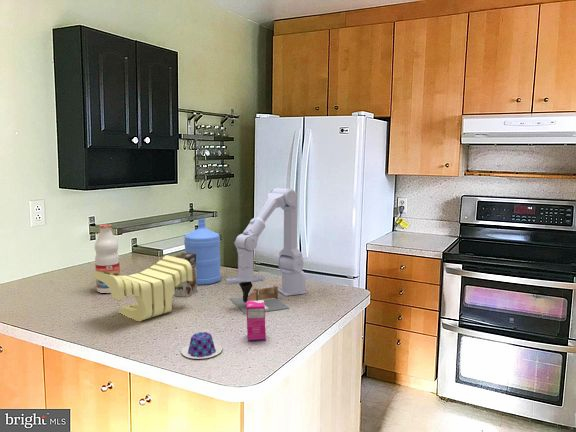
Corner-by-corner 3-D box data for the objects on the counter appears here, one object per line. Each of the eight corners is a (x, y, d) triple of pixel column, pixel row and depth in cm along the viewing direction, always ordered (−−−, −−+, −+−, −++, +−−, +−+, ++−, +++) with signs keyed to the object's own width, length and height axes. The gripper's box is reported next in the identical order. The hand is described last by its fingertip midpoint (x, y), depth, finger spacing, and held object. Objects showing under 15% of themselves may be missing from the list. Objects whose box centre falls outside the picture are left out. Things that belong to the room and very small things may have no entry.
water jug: (227, 279, 218) (226, 218, 214) (204, 287, 205) (202, 223, 201) (202, 274, 226) (200, 215, 222) (178, 282, 213) (176, 220, 209)
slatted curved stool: (121, 330, 157) (118, 278, 154) (96, 319, 167) (93, 270, 164) (193, 307, 180) (192, 261, 177) (167, 298, 190) (166, 255, 187)
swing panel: (253, 300, 185) (253, 290, 185) (256, 300, 185) (256, 290, 185) (247, 307, 177) (247, 297, 176) (250, 307, 177) (250, 297, 176)
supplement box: (246, 334, 154) (246, 300, 152) (265, 334, 154) (265, 299, 152) (246, 341, 148) (246, 306, 146) (265, 341, 148) (265, 305, 147)
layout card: (270, 294, 195) (270, 293, 195) (289, 308, 178) (289, 307, 178) (230, 299, 189) (230, 298, 189) (245, 314, 171) (245, 313, 171)
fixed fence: (276, 297, 191) (276, 286, 190) (278, 299, 189) (278, 287, 189) (252, 300, 187) (252, 289, 186) (254, 302, 185) (254, 290, 185)
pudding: (172, 354, 140) (171, 337, 139) (201, 340, 150) (201, 324, 149) (202, 364, 133) (201, 347, 132) (230, 350, 143) (230, 333, 142)
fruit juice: (120, 286, 206) (116, 222, 202) (121, 292, 197) (118, 226, 193) (96, 289, 202) (92, 224, 198) (97, 295, 194) (93, 227, 190)
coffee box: (188, 297, 192) (187, 258, 189) (174, 296, 193) (172, 257, 191) (197, 290, 200) (196, 253, 198) (183, 289, 202) (182, 252, 199)
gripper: (260, 262, 184) (260, 296, 186) (223, 265, 178) (224, 300, 180) (266, 266, 178) (266, 301, 179) (229, 269, 172) (229, 306, 174)
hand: (245, 301), depth 179 cm, fingers closed, pressing on swing panel
